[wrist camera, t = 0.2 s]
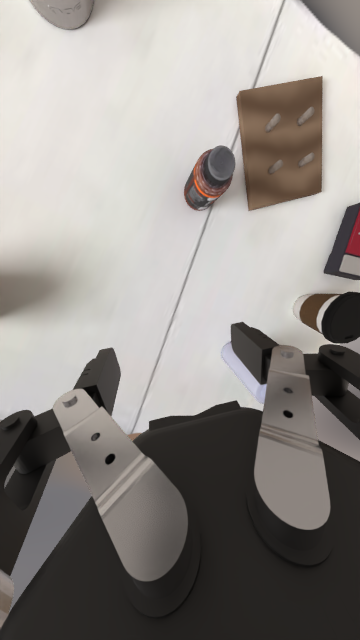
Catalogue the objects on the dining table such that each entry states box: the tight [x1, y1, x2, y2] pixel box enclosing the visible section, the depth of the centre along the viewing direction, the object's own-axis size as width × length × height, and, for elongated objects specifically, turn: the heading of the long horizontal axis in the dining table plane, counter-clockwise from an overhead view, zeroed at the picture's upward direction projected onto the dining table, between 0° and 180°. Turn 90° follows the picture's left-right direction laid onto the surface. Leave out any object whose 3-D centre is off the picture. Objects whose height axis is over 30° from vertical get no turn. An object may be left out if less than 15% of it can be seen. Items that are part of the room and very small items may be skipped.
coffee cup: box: [293, 292, 360, 343], centre depth 41 cm, size 11×11×12 cm
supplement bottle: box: [184, 146, 235, 211], centre depth 30 cm, size 6×6×11 cm
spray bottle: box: [221, 342, 267, 404], centre depth 37 cm, size 6×6×22 cm
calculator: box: [324, 203, 360, 280], centre depth 43 cm, size 11×4×15 cm
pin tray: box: [236, 76, 322, 211], centre depth 34 cm, size 18×16×4 cm
